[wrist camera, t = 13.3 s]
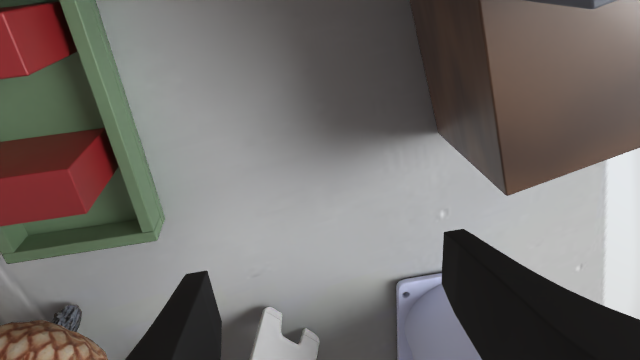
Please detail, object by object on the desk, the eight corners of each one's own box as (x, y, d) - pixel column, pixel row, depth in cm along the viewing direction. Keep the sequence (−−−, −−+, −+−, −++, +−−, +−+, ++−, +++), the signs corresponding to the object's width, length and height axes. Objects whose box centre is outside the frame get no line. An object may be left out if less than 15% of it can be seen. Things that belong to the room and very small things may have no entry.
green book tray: (165, 218, 23) (157, 241, 21) (27, 239, 22) (6, 264, 20) (56, -123, 16) (29, -135, 14) (-151, -104, 15) (-207, -114, 13)
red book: (119, 165, 20) (87, 214, 16) (13, 181, 20) (-48, 234, 16) (106, 127, 19) (68, 168, 16) (-7, 142, 19) (-75, 188, 15)
